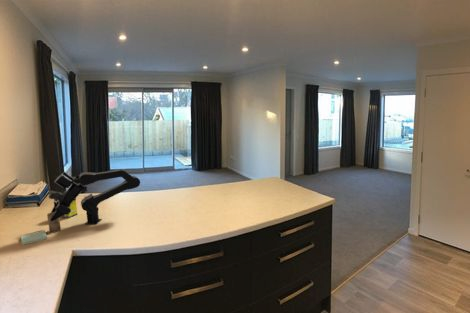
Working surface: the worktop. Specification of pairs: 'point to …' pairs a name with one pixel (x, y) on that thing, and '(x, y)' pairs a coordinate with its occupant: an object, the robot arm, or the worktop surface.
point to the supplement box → (72, 210)
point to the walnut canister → (53, 223)
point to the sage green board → (33, 237)
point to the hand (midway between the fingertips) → (50, 218)
